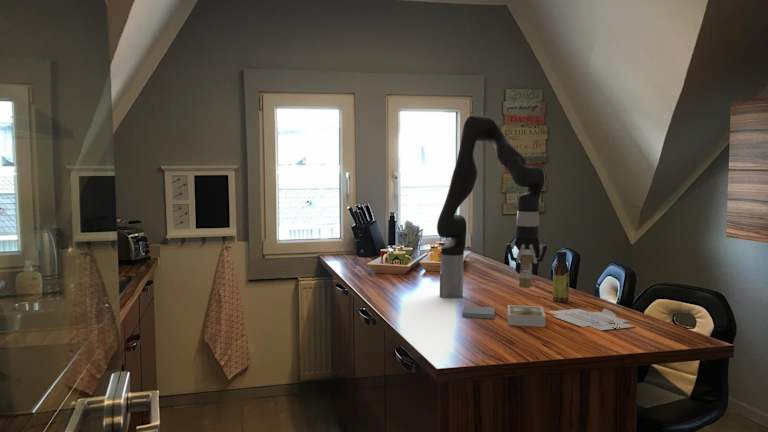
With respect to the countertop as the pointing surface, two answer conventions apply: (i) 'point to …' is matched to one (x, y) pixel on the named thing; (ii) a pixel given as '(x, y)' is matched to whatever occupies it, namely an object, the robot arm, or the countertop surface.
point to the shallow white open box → (526, 317)
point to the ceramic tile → (478, 312)
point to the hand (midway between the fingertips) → (525, 273)
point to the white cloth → (591, 318)
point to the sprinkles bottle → (526, 269)
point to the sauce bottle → (561, 278)
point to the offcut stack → (525, 311)
